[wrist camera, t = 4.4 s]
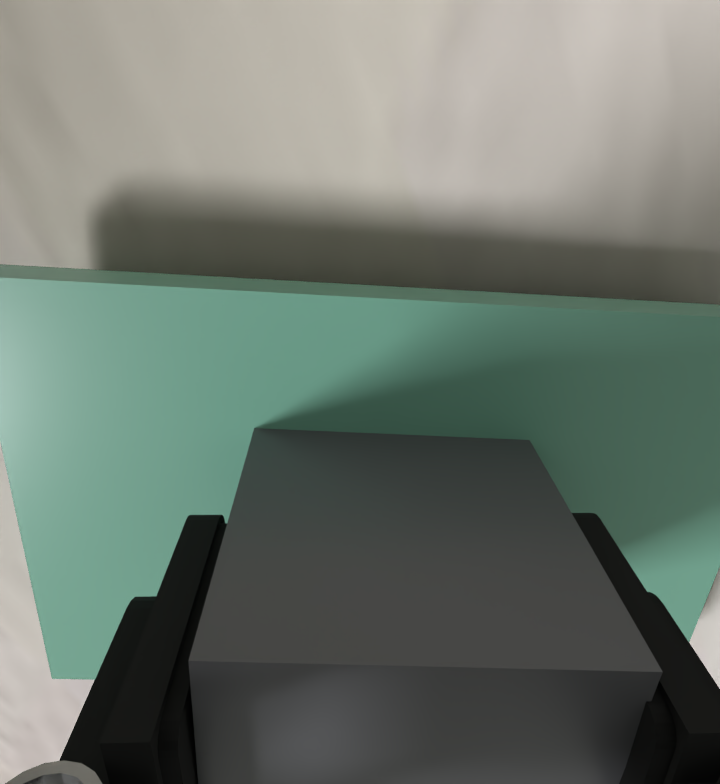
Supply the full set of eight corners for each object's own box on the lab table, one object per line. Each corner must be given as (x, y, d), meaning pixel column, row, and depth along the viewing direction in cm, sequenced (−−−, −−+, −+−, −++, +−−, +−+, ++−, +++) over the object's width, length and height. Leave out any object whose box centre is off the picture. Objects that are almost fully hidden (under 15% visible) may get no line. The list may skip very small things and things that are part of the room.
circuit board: (67, 649, 14) (-101, 975, 9) (-9, 263, 10) (-392, 427, 5) (652, 663, 15) (827, 973, 9) (786, 308, 11) (1207, 492, 6)
